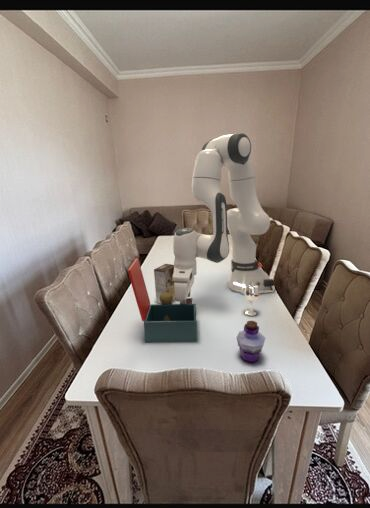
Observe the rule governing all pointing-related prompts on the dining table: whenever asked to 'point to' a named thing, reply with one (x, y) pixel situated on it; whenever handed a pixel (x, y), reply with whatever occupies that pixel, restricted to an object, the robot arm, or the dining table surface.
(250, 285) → the wineglass
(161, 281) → the coffee box
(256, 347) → the potion bottle
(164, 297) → the pepper shaker
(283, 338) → the dining table surface
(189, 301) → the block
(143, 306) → the lid
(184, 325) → the lunchbox
